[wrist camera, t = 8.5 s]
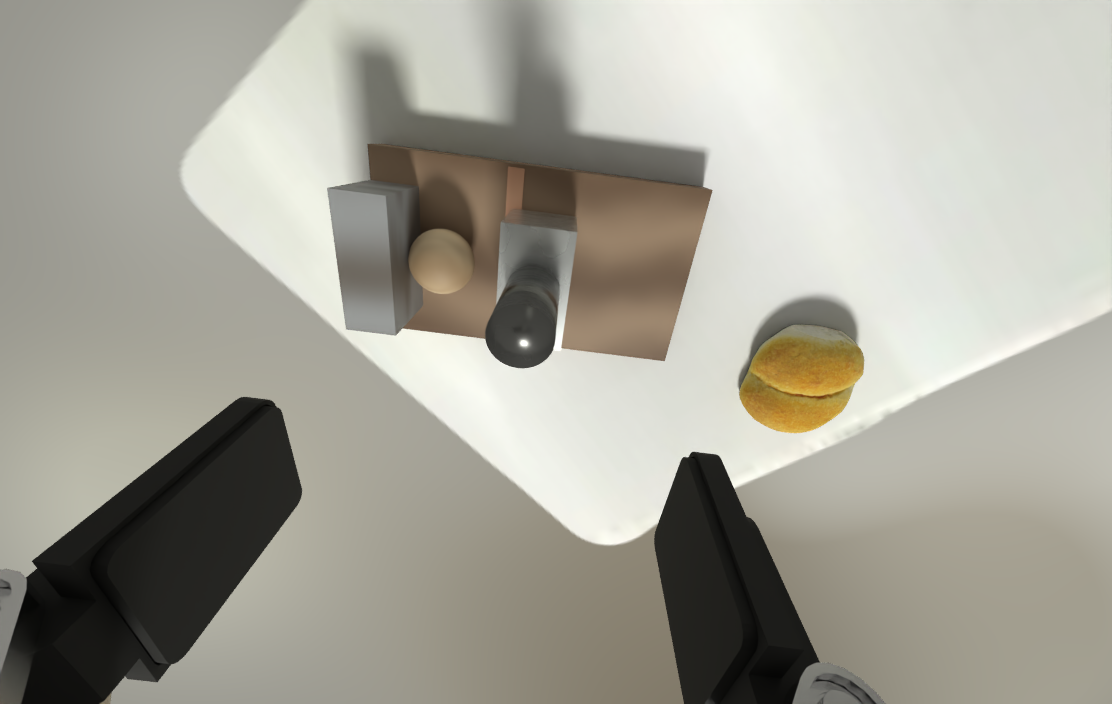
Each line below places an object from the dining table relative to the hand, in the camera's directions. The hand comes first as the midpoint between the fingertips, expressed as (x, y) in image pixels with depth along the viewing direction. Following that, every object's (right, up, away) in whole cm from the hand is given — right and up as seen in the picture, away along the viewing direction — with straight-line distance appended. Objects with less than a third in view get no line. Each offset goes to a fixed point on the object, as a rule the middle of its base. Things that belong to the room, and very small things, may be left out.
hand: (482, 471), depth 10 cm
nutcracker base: (0, +10, +19) cm, 22 cm away
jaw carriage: (+1, +8, +17) cm, 19 cm away
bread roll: (+21, +1, +23) cm, 31 cm away
